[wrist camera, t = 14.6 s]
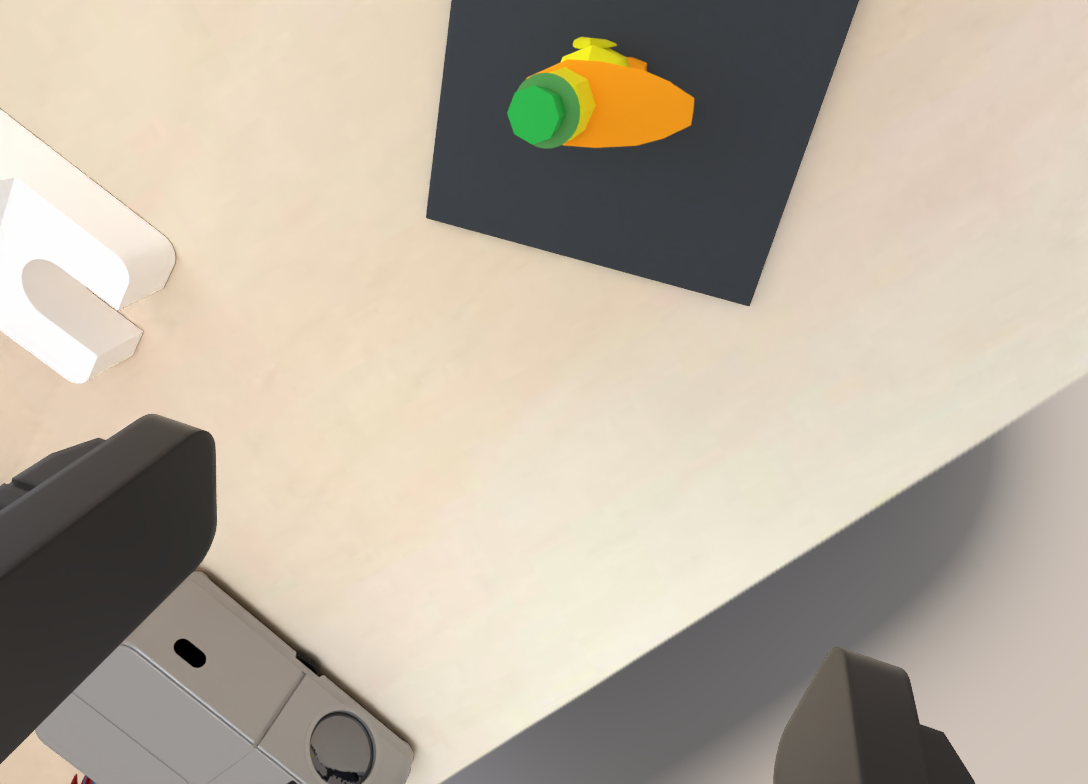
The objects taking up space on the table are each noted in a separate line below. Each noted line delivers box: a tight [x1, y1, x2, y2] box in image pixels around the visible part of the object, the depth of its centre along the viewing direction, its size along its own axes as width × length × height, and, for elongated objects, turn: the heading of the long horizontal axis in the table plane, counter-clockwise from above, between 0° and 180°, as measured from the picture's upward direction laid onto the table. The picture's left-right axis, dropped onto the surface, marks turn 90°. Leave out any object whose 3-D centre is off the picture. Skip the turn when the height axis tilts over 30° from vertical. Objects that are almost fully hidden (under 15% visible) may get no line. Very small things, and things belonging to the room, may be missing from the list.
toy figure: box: [507, 37, 694, 148], centre depth 27 cm, size 7×4×12 cm, turn 88°
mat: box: [426, 0, 859, 306], centre depth 32 cm, size 16×16×1 cm
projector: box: [35, 571, 414, 784], centre depth 55 cm, size 17×22×8 cm
